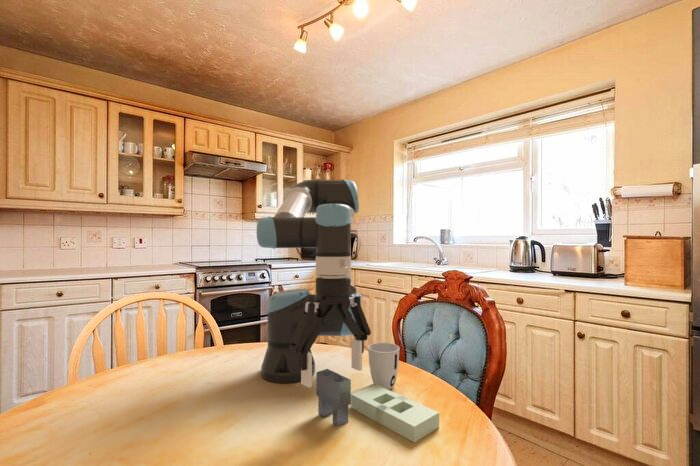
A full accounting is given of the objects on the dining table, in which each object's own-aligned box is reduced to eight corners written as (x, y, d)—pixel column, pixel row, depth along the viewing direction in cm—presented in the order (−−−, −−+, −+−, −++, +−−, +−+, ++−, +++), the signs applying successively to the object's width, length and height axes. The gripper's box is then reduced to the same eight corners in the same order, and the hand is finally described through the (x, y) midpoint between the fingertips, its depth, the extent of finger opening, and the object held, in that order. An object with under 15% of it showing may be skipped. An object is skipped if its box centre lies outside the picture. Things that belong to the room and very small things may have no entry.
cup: (398, 394, 85) (398, 353, 85) (365, 391, 87) (365, 351, 87) (400, 380, 93) (400, 343, 93) (370, 378, 95) (370, 341, 95)
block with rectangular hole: (351, 407, 79) (351, 394, 79) (375, 396, 84) (375, 384, 84) (414, 442, 65) (414, 426, 65) (439, 427, 70) (439, 412, 70)
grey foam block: (316, 413, 76) (316, 372, 76) (327, 409, 78) (327, 368, 78) (339, 428, 70) (339, 383, 70) (350, 423, 72) (350, 379, 72)
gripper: (292, 281, 63) (291, 399, 63) (385, 274, 80) (386, 367, 79) (272, 278, 69) (271, 387, 68) (363, 272, 85) (363, 359, 85)
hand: (333, 376), depth 74 cm, fingers open, 13 cm apart
